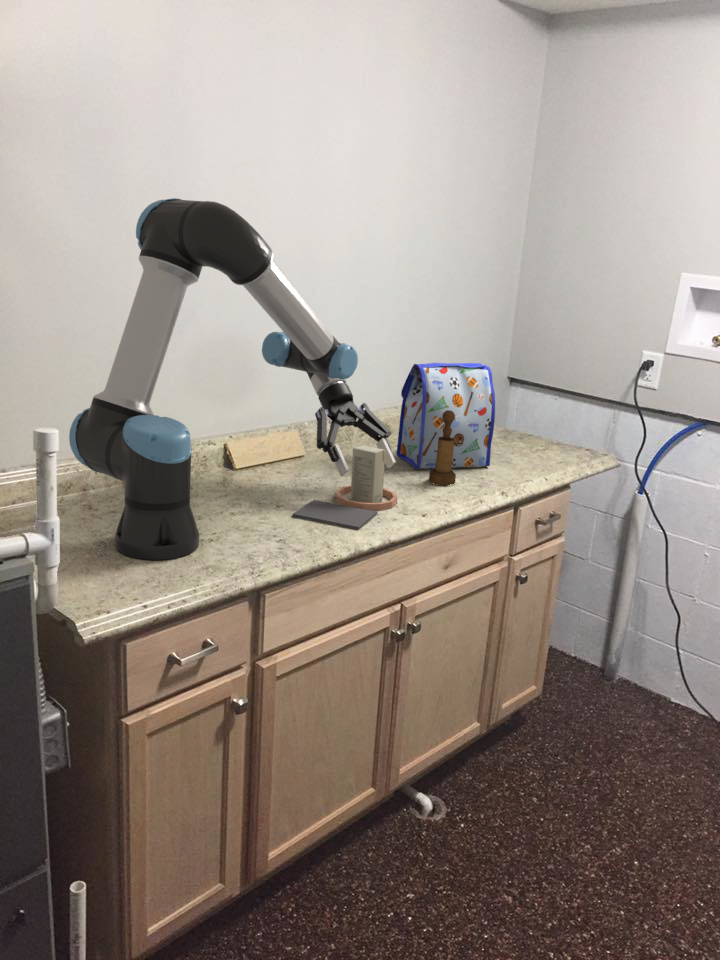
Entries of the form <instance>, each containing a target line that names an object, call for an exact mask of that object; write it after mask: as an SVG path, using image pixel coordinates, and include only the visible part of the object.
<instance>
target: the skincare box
mask: <svg viewBox="0 0 720 960" xmlns="http://www.w3.org/2000/svg"><path fill="white" fill-rule="evenodd" d="M351 464H352V465H351V480H350V481H351V482H350V483H351V484H350V485H351V493H350V500H352V501H357V502H362V503H381V502H383V499H384V498H383V497H384V496H383V488H384V480H385V479H384V478H385V465H386V464H385V449H380V448H378V447H374V446H369V445H365V444H362V445H360V446H355V447H353V448H352V459H351Z"/></svg>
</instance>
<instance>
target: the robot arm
mask: <svg viewBox="0 0 720 960" xmlns="http://www.w3.org/2000/svg"><path fill="white" fill-rule="evenodd" d="M135 239H137V245H138V247H139V249H140V253H139V256H138V261H139V263H140V265H141V266H142V269H143V270H142V274H141V277H140V280H139V283H138V286H137V289H136V293H135V296H134V297H133V298H134V299H133V301H132V305H131V308H130V311H129V314H128V317H127V320H126V323H125V326H124V329H123V331H122V336H121V338H120V342H119V343H118V344H119V345H118V348H117V350H116V351H117V352H116V353H115V357H114V360H113V363H112V366H111V370H110V372H109V375H108V378H107V381H106V385H105V387H104V389H103V390H102V391H101V392H99V393H97V394H95V395H93V397H92V401H91V404H90V406H89V407H88V408H85V409H84V410H82V412H80V413H78V414H77V415H76V416H75V418H74V419H73V420H72V422H71V425H70V428H69V433H68V436H69V437H68V438H69V439H68V440H69V446H70V449H71V451H72V454H73V455H74V457H75V458H76V460H77V461H78V462H80V463H81V464H82V465H83V466H85V467H88V468H89V469H90V470H91V471H93V472H95V473H100V474H104V475H107V476H109V477H111V478H113V479H116V480H119V481H122V482H124V506H123V509H122V513H121V517H120V519H119V523H118V525H117V528H116V531H115V537H114V538H115V539H114V541H115V545H114V546H115V549H116V550H117V551H118V552H119V553H121V554H123V555H124V556H127V557H131V558H135V559H139V560H148V561H149V560H152V561H153V560H155V561H156V560H159V561H160V560H161V561H162V560H170V559H176V558H181V557H184V556H186V555H190V554H192V553H194V551H196V550H197V549H198V548H199V547H200V532H199V529H198V526H197V523H196V519H195V515H194V513H193V510H192V508H191V477H192V476H191V472H192V471H191V469H192V467H191V466H192V451H193V449H192V448H193V447H192V444H191V433H190V430H189V428H188V427H187V426H186V425H185V424H183V422H180V421H179V420H177V419H174V418H172V417H168V416H160V415H155V413H154V412H153V410H152V408H151V406H150V403H151V400H152V397H153V394H154V391H155V387H156V384H157V382H158V379H159V376H160V372H161V369H162V366H163V363H164V359H165V356H166V353H167V350H168V347H169V344H170V341H171V338H172V335H173V333H174V329H175V326H176V322H177V319H178V317H179V314H180V310H181V308H182V304H183V301H184V298H185V295H186V292H187V290H188V287H189V286H191V285H192V284H195V283H197V282H199V279H200V275H201V272H202V269H203V267H205V268H206V267H208V268H212V269H214V270H216V271H219V272H221V273H222V274H224V275H226V276H227V278H229V280H230V281H231V282H232V283H233V284H235V285H238V286H243V288H245V290H246V291H247V292H248V293H249V294H250V296H252V297H253V299H254V300H255V301H256V302H257V303H258V304H259V306H260V307H261V308H262V309H263V311H265V312H266V314H267V315H268V316H269V317H270V318H271V319H272V320H273V321H274V322H275V324H276V325H277V327H279V329H280V330H281V331H272V332H269V333H268V334H267V335H266V336H265V337H264V339H263V341H262V347H261V353H262V354H261V355H262V357H263V359H264V361H265V362H266V363H267V364H269V365H271V366H275V367H279V368H281V367H282V368H286V369H287V368H288V369H291V370H296V371H300V372H305V373H306V374H307V376H308V378H309V380H310V382H311V386H312V387H313V390H314V392H315V394H316V395H317V396H318V397H317V399H318V400H319V403H320V405H321V406H320V407H319V408H318V409H317V411H316V412H315V414H314V415H315V419H316V422H317V423H316V448H317V449H318V450H322V451H323V452H324V453H327V454H328V456H329V459H330V460H331V462H332V463H334V464H335V466H336V469H337V471H338V473H339V475H340V477H344V476H345V475H346V474H347V473H348V472H349V471H350V468H349V466H348V463H347V462H346V461H347V460H346V459H345V457H344V454H343V452H342V450H341V448H340V446H339V444H335V442H336V439H337V435H338V433H339V428H344V427H345V426H346V427H347V426H348V427H354V428H358V429H359V430H361V431H362V432H364V434H366V435H367V436H369V437H370V438H372V439H373V440H374V441H375V442H377V443H376V444H375V445H376V448H380V449H385V464H384V465H385V466H386V468H387V469H390V468H391V467H392V466H394V465H395V464H396V463H397V461H396V459H395V457H394V455H393V453H392V446H391V445H390V443H389V440H388V438H389V437H390V436H391V435H392V431H391V430H390V429H389V427H387V426H386V425H385V424H384V423H383V421H381V419H380V418H378V417H377V416H376V415H375V414H374V412H372V411H371V409H370V408H369V406H368V404H367V403H366V402H363V403H362V404H361V405H356V403H355V402H354V395H353V393H352V391H351V388H350V387H349V385H348V383H347V379H349V378H350V377H352V376H353V375H354V373H355V371H356V369H357V368H358V364H359V356H358V353H357V350H356V348H354V347H353V346H352V345H349V344H347V343H344V342H343V343H341V342H339V341H338V340H337V338H336V337H335V336H334V335H333V333H332V332H331V331H330V330H329V329H328V327H327V326H326V325H325V324H324V322H323V321H322V320H321V318H320V317H319V316H318V315H317V313H316V312H315V311H314V309H312V306H310V304H309V303H308V302H307V301H306V299H305V298H304V297H303V296H302V295H301V293H300V291H298V290H297V288H296V287H295V286H294V285H293V283H292V282H291V281H290V280H289V278H288V277H287V276H286V275H285V273H284V272H283V271H282V269H281V268H280V267H279V266H278V264H277V263H276V262H275V260H274V259H273V258H274V252H273V250H272V248H271V246H269V243H267V242H266V240H265V239H264V238H263V237H262V236H261V234H260V233H259V232H258V231H257V230H256V229H255V228H254V227H253V226H252V225H251V224H250V223H249V222H248V221H247V220H246V219H245V218H244V217H242V215H240V214H239V213H237V212H236V211H235V210H233V209H231V208H230V207H228V206H227V205H225V204H222V203H219V202H216V201H210V200H205V201H203V200H190V199H189V200H188V199H187V200H186V199H181V198H173V197H172V198H167V199H159V200H156V201H154V202H151V203H150V204H148V205H147V206H146V207H145V208H144V209H143V211H142V212H141V213H140V215H139V218H138V219H137V223H136V228H135ZM328 418H329V420H331V422H330V426H329V431H328V428H327V427H328ZM327 431H328V432H327Z"/></svg>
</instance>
